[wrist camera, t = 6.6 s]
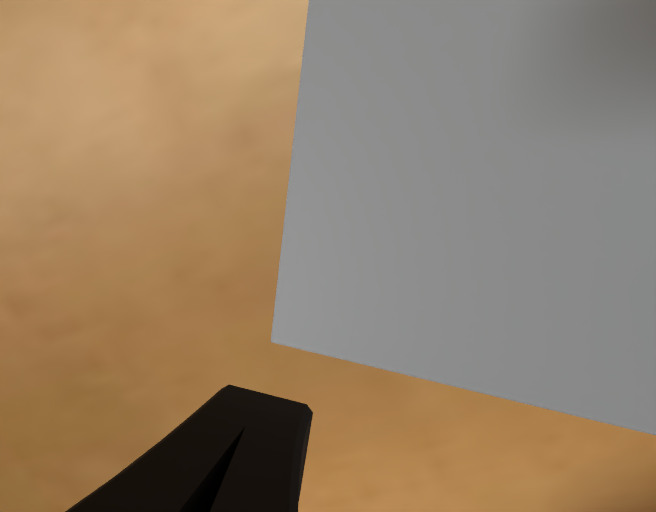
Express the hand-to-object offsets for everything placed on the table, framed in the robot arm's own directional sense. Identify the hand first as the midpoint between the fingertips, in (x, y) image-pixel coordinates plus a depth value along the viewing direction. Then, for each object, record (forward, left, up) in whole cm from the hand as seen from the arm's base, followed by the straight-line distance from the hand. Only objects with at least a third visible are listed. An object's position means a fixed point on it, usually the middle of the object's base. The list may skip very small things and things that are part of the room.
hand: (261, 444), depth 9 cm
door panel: (+3, -5, -9) cm, 11 cm away
